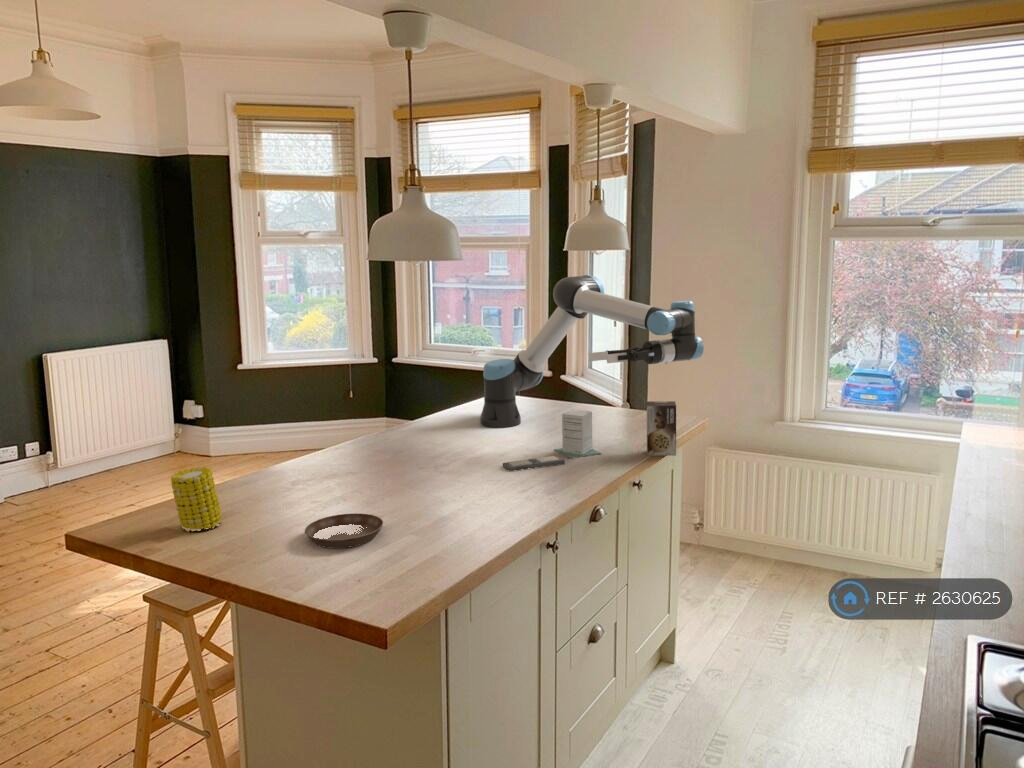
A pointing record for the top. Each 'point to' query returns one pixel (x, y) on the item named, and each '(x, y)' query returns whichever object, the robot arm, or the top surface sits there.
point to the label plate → (533, 463)
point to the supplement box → (577, 431)
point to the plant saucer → (343, 539)
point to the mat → (570, 455)
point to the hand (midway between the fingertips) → (597, 358)
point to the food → (196, 498)
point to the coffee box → (661, 428)
